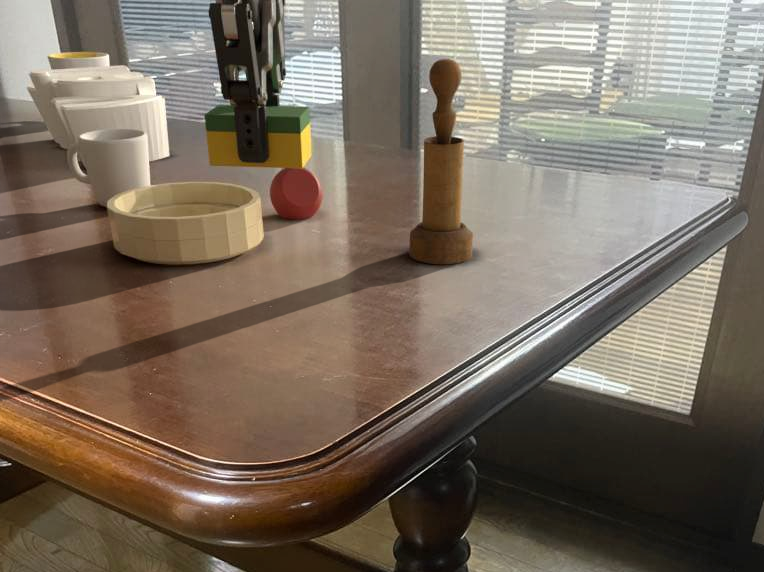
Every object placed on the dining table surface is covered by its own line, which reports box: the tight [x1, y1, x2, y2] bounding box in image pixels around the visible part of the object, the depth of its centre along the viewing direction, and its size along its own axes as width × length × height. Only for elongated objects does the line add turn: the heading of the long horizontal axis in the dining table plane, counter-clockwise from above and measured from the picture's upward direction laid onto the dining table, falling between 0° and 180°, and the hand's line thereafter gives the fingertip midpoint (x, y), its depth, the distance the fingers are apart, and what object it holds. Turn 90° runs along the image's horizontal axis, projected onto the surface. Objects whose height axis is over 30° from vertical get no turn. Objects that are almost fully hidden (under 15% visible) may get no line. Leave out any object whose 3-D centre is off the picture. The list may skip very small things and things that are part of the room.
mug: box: [46, 51, 111, 70], centre depth 156 cm, size 14×10×10 cm
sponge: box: [204, 104, 312, 169], centre depth 66 cm, size 7×4×4 cm, turn 86°
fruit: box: [269, 166, 323, 221], centre depth 103 cm, size 6×6×8 cm
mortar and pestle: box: [409, 58, 474, 265], centre depth 86 cm, size 7×6×18 cm
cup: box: [66, 129, 151, 208], centre depth 106 cm, size 11×8×8 cm
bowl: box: [106, 181, 265, 266], centre depth 93 cm, size 16×16×5 cm
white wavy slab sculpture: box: [26, 65, 170, 169], centre depth 133 cm, size 35×16×10 cm, turn 26°
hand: (261, 153), depth 67 cm, fingers closed on sponge, 4 cm apart
